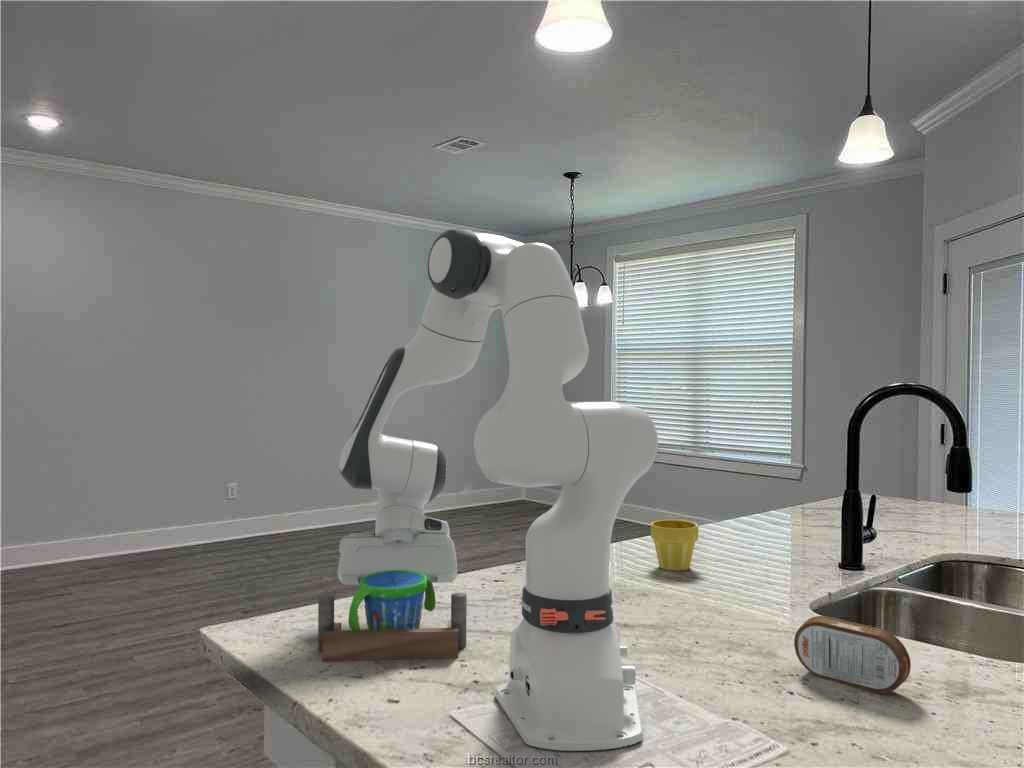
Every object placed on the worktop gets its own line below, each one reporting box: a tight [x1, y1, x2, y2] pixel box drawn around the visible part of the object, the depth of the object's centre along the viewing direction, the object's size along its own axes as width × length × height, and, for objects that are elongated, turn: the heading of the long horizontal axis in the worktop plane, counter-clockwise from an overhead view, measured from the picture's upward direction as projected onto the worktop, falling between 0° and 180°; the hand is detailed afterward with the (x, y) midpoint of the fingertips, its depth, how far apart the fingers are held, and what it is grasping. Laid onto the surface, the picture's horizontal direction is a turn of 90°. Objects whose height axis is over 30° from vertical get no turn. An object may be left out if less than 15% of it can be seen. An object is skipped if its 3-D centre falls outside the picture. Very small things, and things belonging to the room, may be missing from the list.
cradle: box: [317, 592, 468, 662], centre depth 119 cm, size 10×23×8 cm, turn 95°
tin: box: [793, 615, 912, 694], centre depth 106 cm, size 15×3×8 cm, turn 48°
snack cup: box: [347, 570, 437, 630], centre depth 121 cm, size 16×10×10 cm
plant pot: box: [650, 519, 699, 572], centre depth 170 cm, size 10×10×10 cm
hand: (396, 604), depth 127 cm, fingers closed
